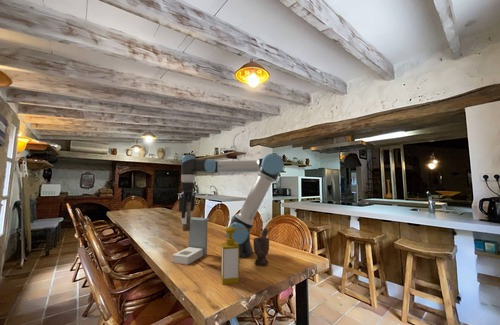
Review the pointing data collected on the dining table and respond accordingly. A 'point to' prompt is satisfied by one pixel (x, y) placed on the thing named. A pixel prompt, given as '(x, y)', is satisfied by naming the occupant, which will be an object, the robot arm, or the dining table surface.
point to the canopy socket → (194, 242)
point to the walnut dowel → (187, 226)
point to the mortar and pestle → (261, 248)
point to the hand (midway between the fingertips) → (186, 223)
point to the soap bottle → (230, 259)
